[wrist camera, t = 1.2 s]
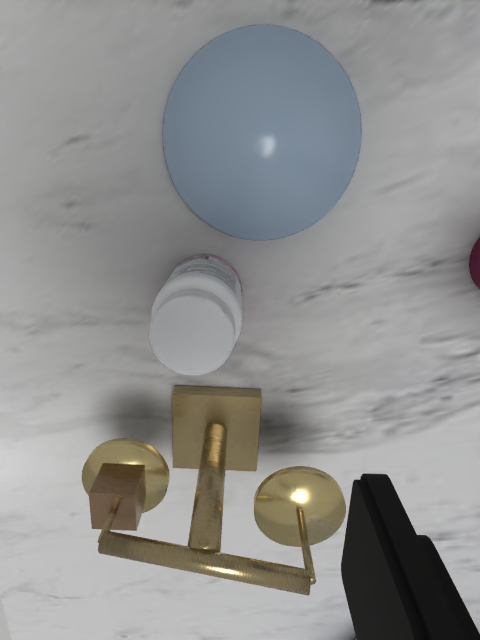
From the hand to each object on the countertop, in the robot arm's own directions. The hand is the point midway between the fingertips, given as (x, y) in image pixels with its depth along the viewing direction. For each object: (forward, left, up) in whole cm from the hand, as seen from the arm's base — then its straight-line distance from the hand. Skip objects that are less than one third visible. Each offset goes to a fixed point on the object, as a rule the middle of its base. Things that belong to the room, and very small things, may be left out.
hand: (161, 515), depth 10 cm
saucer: (-10, +3, -18) cm, 21 cm away
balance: (+9, +1, -18) cm, 21 cm away
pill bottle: (-1, 0, -19) cm, 19 cm away
